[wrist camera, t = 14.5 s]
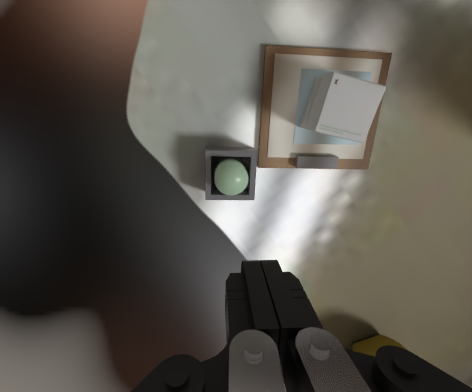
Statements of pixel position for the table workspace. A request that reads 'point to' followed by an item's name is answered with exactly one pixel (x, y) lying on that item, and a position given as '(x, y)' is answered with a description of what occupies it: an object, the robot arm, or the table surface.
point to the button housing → (251, 153)
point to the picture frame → (294, 104)
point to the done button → (230, 176)
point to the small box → (342, 106)
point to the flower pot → (374, 344)
